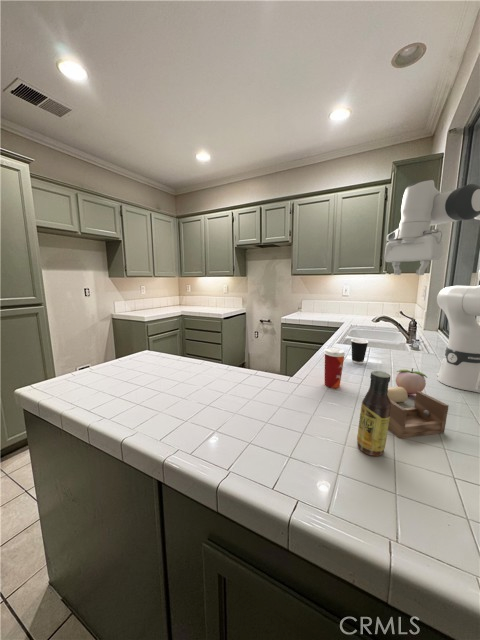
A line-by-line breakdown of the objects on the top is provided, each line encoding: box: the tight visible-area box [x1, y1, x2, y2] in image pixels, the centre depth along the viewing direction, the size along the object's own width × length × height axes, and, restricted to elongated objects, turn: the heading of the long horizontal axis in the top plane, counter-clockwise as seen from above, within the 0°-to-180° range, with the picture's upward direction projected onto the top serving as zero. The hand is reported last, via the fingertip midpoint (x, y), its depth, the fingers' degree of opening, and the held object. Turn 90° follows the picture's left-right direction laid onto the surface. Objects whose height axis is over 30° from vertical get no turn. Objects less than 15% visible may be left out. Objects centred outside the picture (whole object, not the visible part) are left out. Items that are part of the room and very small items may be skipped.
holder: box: [388, 391, 449, 440], centre depth 75 cm, size 14×9×8 cm, turn 102°
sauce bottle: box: [356, 370, 391, 457], centre depth 63 cm, size 6×6×20 cm
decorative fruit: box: [395, 368, 428, 396], centre depth 95 cm, size 9×8×10 cm
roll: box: [387, 386, 408, 403], centre depth 90 cm, size 9×5×5 cm, turn 102°
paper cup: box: [323, 347, 346, 389], centre depth 102 cm, size 8×8×14 cm
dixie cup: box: [350, 338, 369, 365], centre depth 130 cm, size 8×8×11 cm
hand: (408, 275), depth 91 cm, fingers open, 8 cm apart
